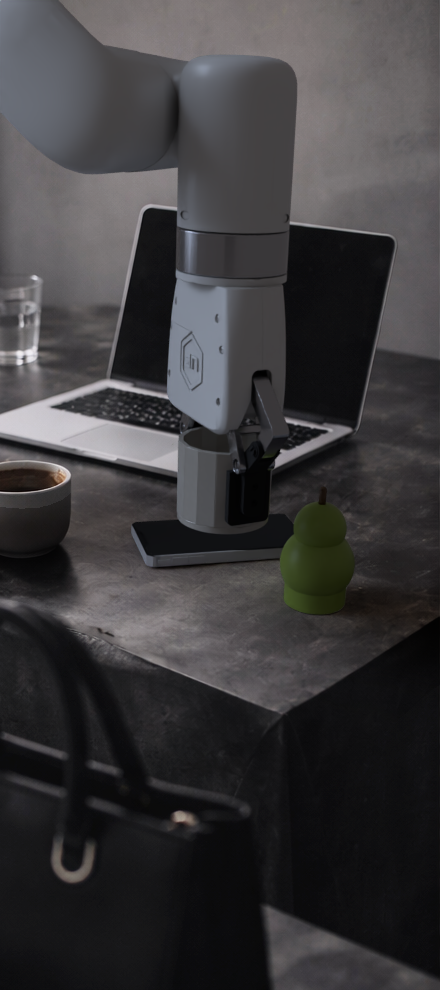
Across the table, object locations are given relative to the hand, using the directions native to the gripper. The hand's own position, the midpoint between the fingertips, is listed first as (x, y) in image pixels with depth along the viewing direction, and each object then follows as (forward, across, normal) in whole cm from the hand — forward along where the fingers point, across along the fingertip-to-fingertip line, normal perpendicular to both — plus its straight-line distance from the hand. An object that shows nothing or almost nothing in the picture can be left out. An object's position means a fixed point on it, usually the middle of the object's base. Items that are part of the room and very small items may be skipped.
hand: (222, 501), depth 72 cm
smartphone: (+10, -13, +6) cm, 18 cm away
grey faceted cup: (+1, 0, 0) cm, 1 cm away
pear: (+10, 0, +9) cm, 13 cm away
